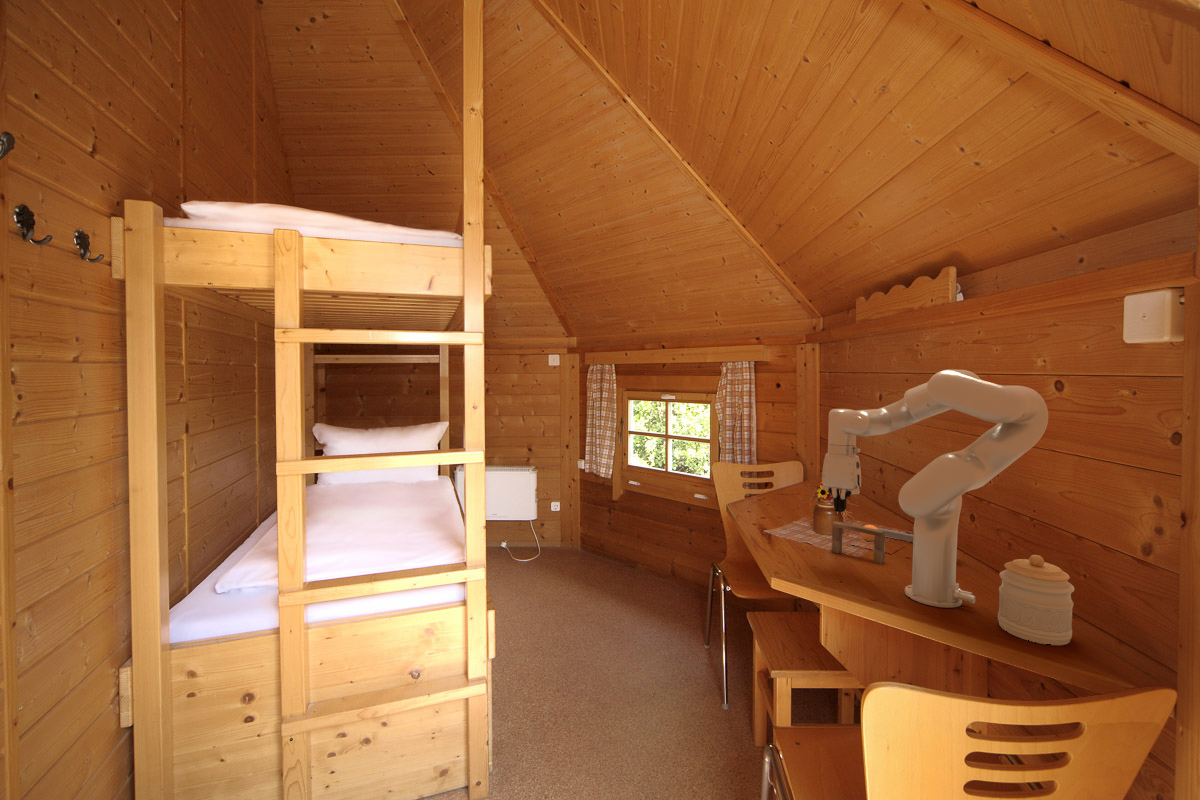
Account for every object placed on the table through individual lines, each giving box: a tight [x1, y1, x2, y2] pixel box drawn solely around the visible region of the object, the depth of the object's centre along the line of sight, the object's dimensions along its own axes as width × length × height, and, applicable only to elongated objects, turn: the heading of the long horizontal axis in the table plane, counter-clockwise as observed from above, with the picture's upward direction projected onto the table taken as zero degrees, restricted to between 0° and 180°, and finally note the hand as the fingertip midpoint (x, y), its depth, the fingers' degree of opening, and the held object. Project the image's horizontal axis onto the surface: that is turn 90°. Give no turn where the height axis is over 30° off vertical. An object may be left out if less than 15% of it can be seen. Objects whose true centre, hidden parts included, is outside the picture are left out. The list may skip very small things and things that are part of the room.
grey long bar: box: [877, 527, 914, 542], centre depth 189 cm, size 16×2×2 cm, turn 43°
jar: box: [997, 554, 1075, 646], centre depth 119 cm, size 13×13×18 cm
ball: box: [860, 524, 879, 542], centre depth 184 cm, size 6×6×6 cm
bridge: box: [831, 520, 886, 565], centre depth 168 cm, size 3×15×10 cm, turn 43°
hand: (839, 511), depth 158 cm, fingers closed
